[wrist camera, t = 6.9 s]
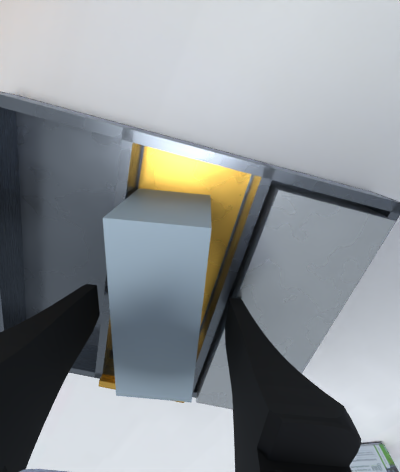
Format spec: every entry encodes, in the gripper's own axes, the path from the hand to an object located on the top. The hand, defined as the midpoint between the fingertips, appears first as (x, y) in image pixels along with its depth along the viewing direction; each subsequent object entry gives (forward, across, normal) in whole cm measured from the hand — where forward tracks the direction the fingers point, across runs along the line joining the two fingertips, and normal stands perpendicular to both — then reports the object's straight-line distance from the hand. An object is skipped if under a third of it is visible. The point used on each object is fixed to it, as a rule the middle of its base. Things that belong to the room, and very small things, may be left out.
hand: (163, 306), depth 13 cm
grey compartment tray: (+3, 0, 0) cm, 3 cm away
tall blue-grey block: (+3, 0, -1) cm, 3 cm away
